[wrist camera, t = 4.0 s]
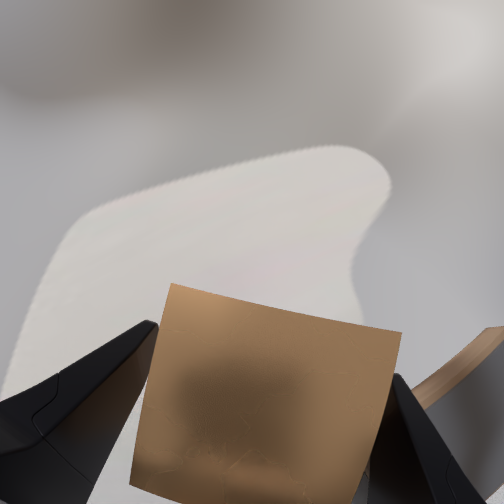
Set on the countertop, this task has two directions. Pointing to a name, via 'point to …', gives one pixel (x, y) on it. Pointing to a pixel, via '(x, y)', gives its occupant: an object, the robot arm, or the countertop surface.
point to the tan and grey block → (259, 403)
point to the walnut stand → (470, 409)
